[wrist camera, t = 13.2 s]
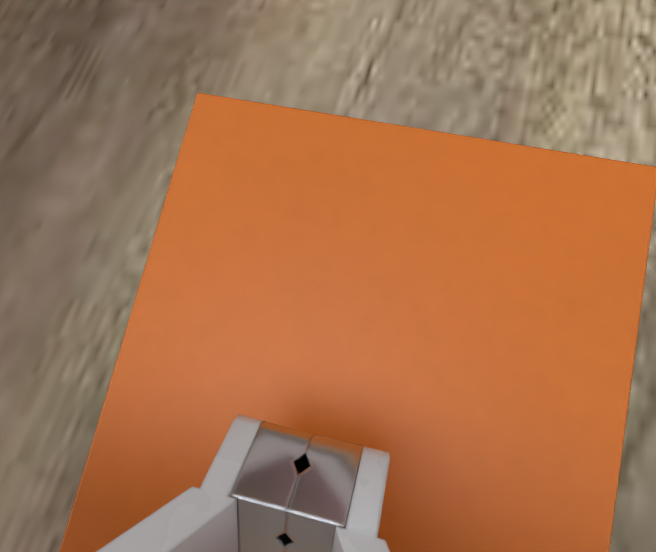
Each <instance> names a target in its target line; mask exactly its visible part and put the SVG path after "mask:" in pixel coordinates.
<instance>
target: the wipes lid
mask: <svg viewBox="0 0 656 552" xmlns="http://www.w3.org/2000/svg"><path fill="white" fill-rule="evenodd" d="M655 198H656V167H654V166H648V165H641V164H635V163H629V162H623V161H617V160H610V159H604V158H598V157H592V156H586V155H579V154H573V153H567V152H561V151H555V150H549V149H542V148H536V147H530V146H524V145H518V144H511V143H505V142H499V141H493V140H487V139H481V138H474V137H468V136H462V135H456V134H450V133H443V132H437V131H431V130H425V129H419V128H413V127H406V126H400V125H394V124H388V123H382V122H375V121H369V120H363V119H357V118H351V117H344V116H338V115H332V114H326V113H320V112H314V111H307V110H301V109H295V108H289V107H283V106H276V105H270V104H264V103H258V102H252V101H246V100H239V99H233V98H227V97H221V96H215V95H208V94H202V93H198V94H197V96H196V99H195V103H194V106H193V109H192V113H191V116H190V119H189V123H188V126H187V129H186V132H185V136H184V139H183V142H182V146H181V149H180V152H179V156H178V159H177V162H176V166H175V169H174V172H173V176H172V179H171V182H170V186H169V189H168V192H167V196H166V199H165V202H164V205H163V209H162V212H161V215H160V219H159V222H158V225H157V229H156V232H155V235H154V239H153V242H152V245H151V249H150V252H149V255H148V259H147V262H146V265H145V269H144V272H143V275H142V278H141V282H140V285H139V288H138V292H137V295H136V298H135V302H134V305H133V308H132V312H131V315H130V318H129V322H128V325H127V328H126V332H125V335H124V338H123V342H122V345H121V348H120V351H119V355H118V358H117V361H116V365H115V368H114V371H113V375H112V378H111V381H110V385H109V388H108V391H107V395H106V398H105V401H104V405H103V408H102V411H101V414H100V418H99V421H98V424H97V428H96V431H95V434H94V438H93V441H92V444H91V448H90V451H89V454H88V458H87V461H86V464H85V468H84V471H83V474H82V478H81V481H80V484H79V487H78V491H77V494H76V497H75V501H74V504H73V507H72V511H71V514H70V517H69V521H68V524H67V527H66V531H65V534H64V537H63V541H62V544H61V547H60V551H59V552H96V551H98V550H99V549H101V548H102V547H104V546H105V545H107V544H108V543H110V542H111V541H113V540H114V539H115V538H117V537H118V536H120V535H121V534H123V533H124V532H126V531H127V530H129V529H130V528H132V527H133V526H135V525H136V524H138V523H139V522H140V521H142V520H143V519H145V518H146V517H148V516H149V515H151V514H152V513H154V512H155V511H157V510H158V509H160V508H161V507H162V506H164V505H165V504H167V503H168V502H170V501H171V500H173V499H174V498H176V497H177V496H179V495H180V494H182V493H183V492H184V491H186V490H187V489H189V488H190V487H192V486H194V487H198V488H200V486H201V484H202V482H203V480H204V478H205V476H206V474H207V472H208V470H209V468H210V466H211V464H212V462H213V460H214V458H215V456H216V454H217V452H218V450H219V448H220V446H221V444H222V442H223V440H224V438H225V436H226V434H227V432H228V430H229V428H230V426H231V424H232V422H233V421H234V420H235V418H236V417H237V416H238V415H243V416H247V417H251V418H255V419H259V420H263V421H266V422H269V423H273V424H277V425H280V426H284V427H288V428H291V429H295V430H298V431H302V432H306V433H309V434H317V435H321V436H326V437H330V438H334V439H338V440H343V441H347V442H351V443H355V444H360V445H363V447H368V448H373V449H377V450H381V451H385V452H389V453H390V462H389V468H388V474H387V481H386V487H385V493H384V499H383V505H382V512H381V518H380V524H379V530H378V538H381V539H384V540H386V543H387V545H388V547H389V550H390V552H609V549H610V541H611V534H612V526H613V518H614V511H615V503H616V495H617V488H618V480H619V473H620V465H621V457H622V450H623V442H624V434H625V427H626V419H627V411H628V404H629V396H630V389H631V381H632V373H633V366H634V358H635V350H636V343H637V335H638V328H639V320H640V312H641V305H642V297H643V289H644V282H645V274H646V266H647V259H648V251H649V244H650V236H651V228H652V221H653V213H654V205H655ZM362 450H363V449H362ZM361 455H362V454H361ZM360 460H361V459H360Z"/></svg>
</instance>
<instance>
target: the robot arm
mask: <svg viewBox="0 0 656 552" xmlns="http://www.w3.org/2000/svg"><path fill="white" fill-rule="evenodd" d="M362 449H363V450H362ZM361 454H362V455H361ZM360 459H361V460H360ZM389 462H390V453H389V452H385V451H381V450H377V449H373V448H368V447H363V445H360V444H355V443H351V442H347V441H343V440H338V439H334V438H330V437H326V436H321V435H317V434H309V433H306V432H302V431H298V430H295V429H291V428H288V427H284V426H280V425H277V424H273V423H269V422H266V421H263V420H259V419H255V418H251V417H247V416H243V415H238V416H237V417H236V418H235V420H234V421H233V422H232V424H231V426H230V428H229V430H228V432H227V434H226V436H225V438H224V440H223V442H222V444H221V446H220V448H219V450H218V452H217V454H216V456H215V458H214V460H213V462H212V464H211V466H210V468H209V470H208V472H207V474H206V476H205V478H204V480H203V482H202V484H201V486H200V488H198V487H194V486H192V487H190V488H189V489H187V490H186V491H184V492H183V493H182V494H180V495H179V496H177V497H176V498H174V499H173V500H171V501H170V502H168V503H167V504H165V505H164V506H162V507H161V508H160V509H158V510H157V511H155V512H154V513H152V514H151V515H149V516H148V517H146V518H145V519H143V520H142V521H140V522H139V523H138V524H136V525H135V526H133V527H132V528H130V529H129V530H127V531H126V532H124V533H123V534H121V535H120V536H118V537H117V538H115V539H114V540H113V541H111V542H110V543H108V544H107V545H105V546H104V547H102V548H101V549H99V550H98V551H96V552H390V550H389V547H388V545H387V543H386V540H384V539H381V538H378V530H379V524H380V518H381V512H382V505H383V499H384V493H385V487H386V481H387V474H388V468H389Z"/></svg>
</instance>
